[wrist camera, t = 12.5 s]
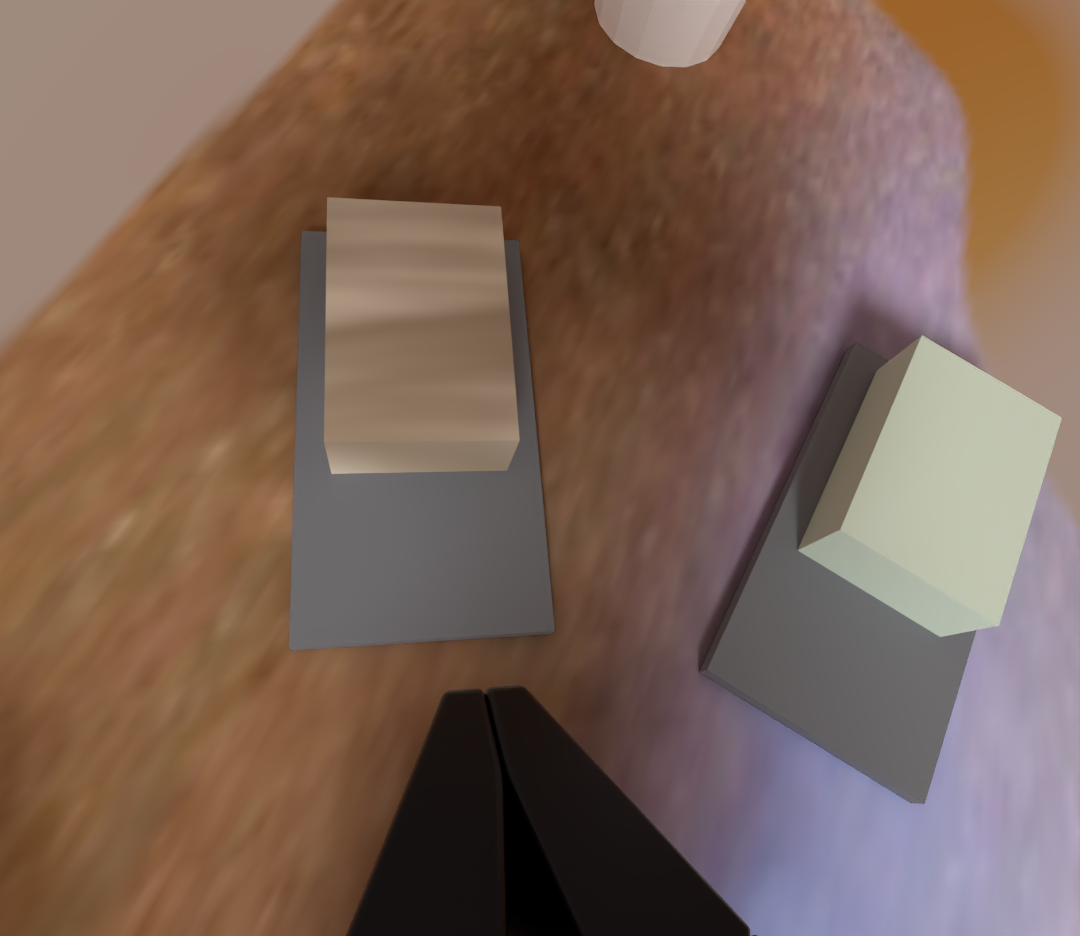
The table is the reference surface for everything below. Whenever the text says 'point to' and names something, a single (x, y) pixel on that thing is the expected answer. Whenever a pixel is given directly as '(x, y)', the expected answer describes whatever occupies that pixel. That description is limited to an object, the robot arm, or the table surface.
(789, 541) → the pair of gray tiles
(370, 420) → the cream tile
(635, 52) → the white cup
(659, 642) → the table surface
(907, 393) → the sage tile
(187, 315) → the table surface
